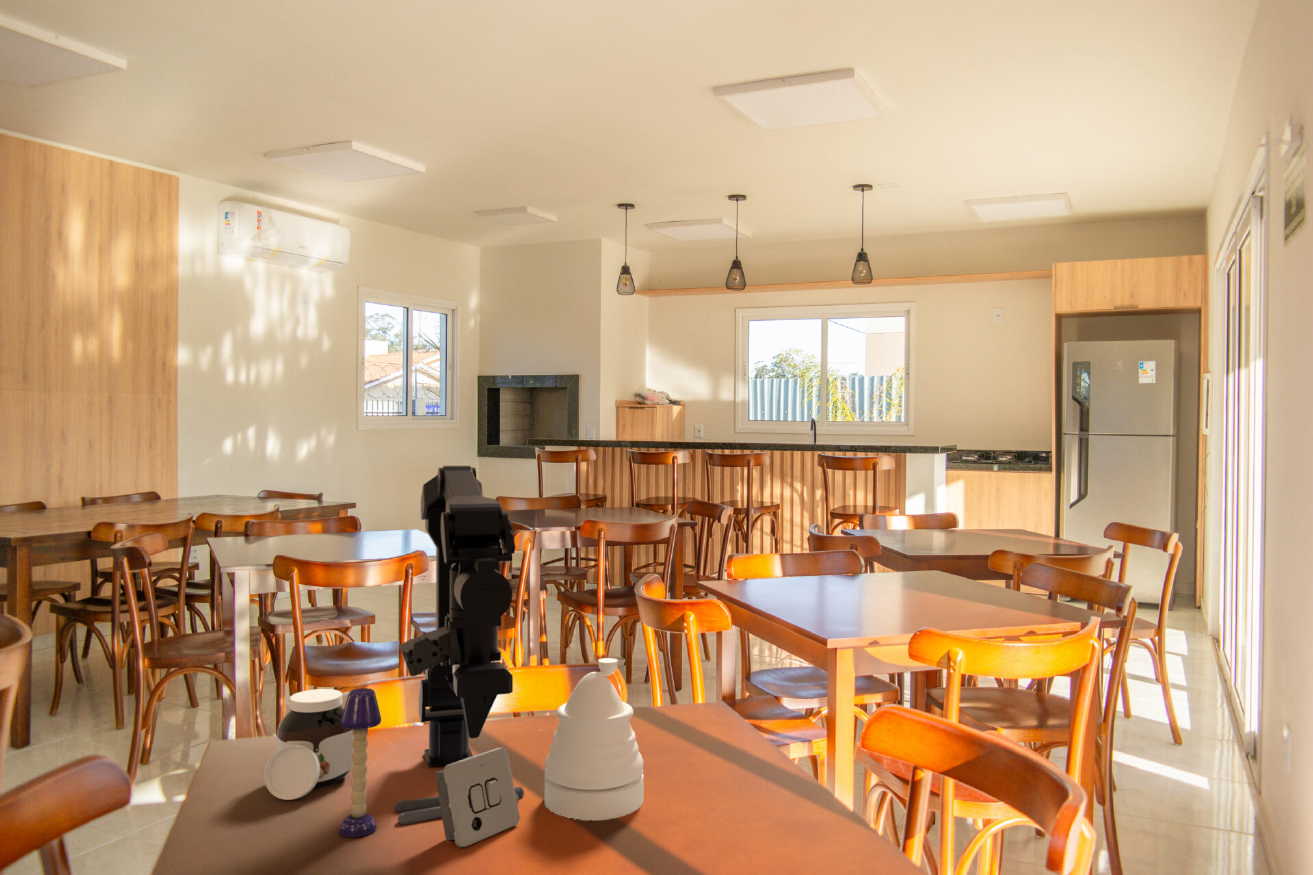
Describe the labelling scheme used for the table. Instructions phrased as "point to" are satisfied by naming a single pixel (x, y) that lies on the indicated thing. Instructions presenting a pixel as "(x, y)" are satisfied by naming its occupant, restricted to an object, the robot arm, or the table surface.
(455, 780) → the electrical switch
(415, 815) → the cord
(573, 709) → the honey pot
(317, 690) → the spread jar
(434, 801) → the cord
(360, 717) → the toy lamp
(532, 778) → the table surface
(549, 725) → the table surface
